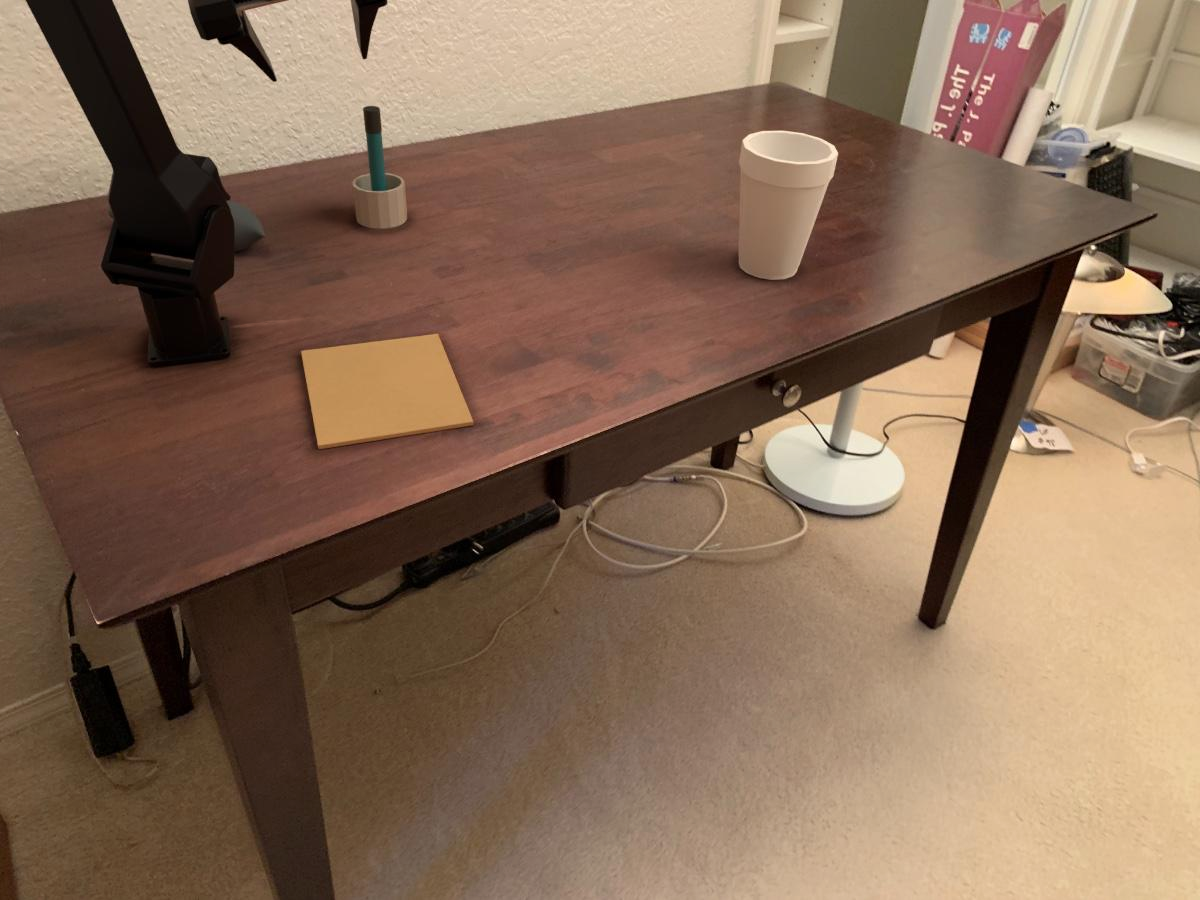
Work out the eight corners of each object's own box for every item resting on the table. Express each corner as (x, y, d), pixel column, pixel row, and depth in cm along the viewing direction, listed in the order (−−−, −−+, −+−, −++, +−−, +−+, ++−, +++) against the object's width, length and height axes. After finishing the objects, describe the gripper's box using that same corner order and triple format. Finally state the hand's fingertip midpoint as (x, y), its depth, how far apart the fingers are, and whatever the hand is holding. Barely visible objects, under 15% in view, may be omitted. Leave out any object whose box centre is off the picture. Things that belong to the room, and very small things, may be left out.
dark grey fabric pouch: (89, 237, 95) (75, 190, 92) (119, 218, 99) (107, 173, 96) (264, 267, 92) (256, 220, 89) (288, 246, 96) (281, 201, 93)
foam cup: (741, 240, 104) (760, 124, 96) (821, 259, 101) (847, 142, 93) (712, 272, 97) (729, 151, 89) (796, 295, 94) (822, 171, 86)
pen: (390, 220, 101) (381, 110, 94) (375, 221, 101) (364, 111, 94) (388, 214, 103) (378, 105, 95) (372, 215, 102) (361, 106, 95)
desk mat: (473, 425, 73) (473, 421, 73) (318, 449, 70) (317, 445, 69) (438, 337, 83) (437, 333, 83) (301, 354, 80) (300, 350, 80)
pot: (411, 229, 101) (408, 190, 98) (360, 233, 99) (356, 194, 97) (402, 209, 105) (399, 171, 102) (353, 213, 103) (349, 174, 101)
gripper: (352, -156, 85) (390, 2, 98) (148, -113, 82) (216, 44, 95) (380, -96, 79) (416, 63, 93) (162, -47, 76) (232, 109, 90)
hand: (319, 67), depth 93 cm, fingers open, 9 cm apart
